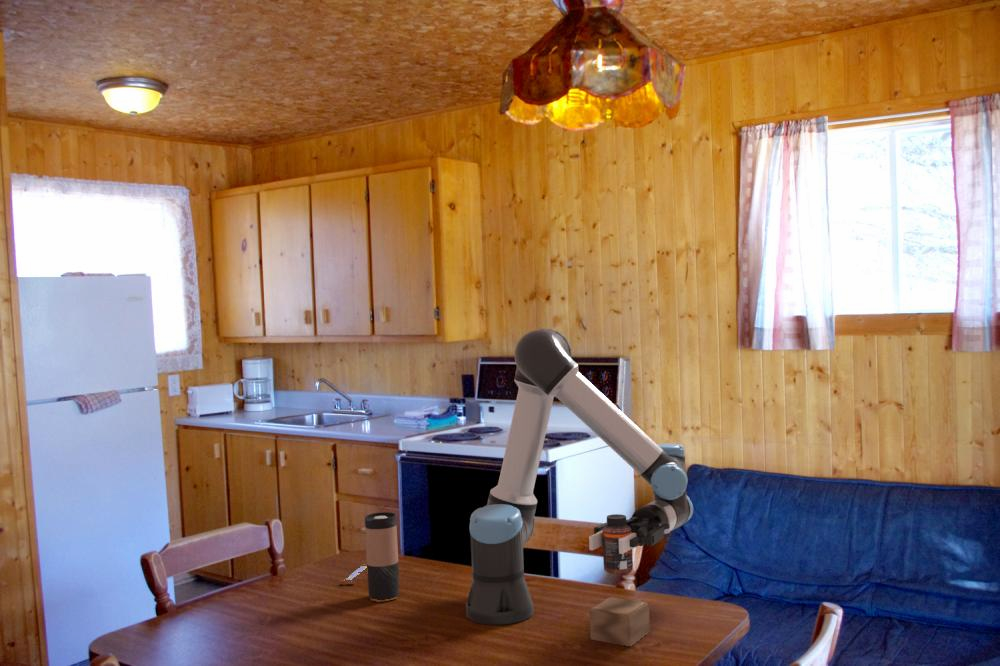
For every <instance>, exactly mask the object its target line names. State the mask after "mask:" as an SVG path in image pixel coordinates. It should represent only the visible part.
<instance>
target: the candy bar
mask: <svg viewBox="0 0 1000 666" xmlns="http://www.w3.org/2000/svg"><path fill="white" fill-rule="evenodd" d="M366 568H367V566H362V565H360V568H359V567H358V568H357V569H356V570H354V571H353V572H352V573H351V574H350V575H348V576H349V577H348V576H347V577H348V578H347V577H346V578H345V579H346V580H352V579H353V578H354V577H356V576H357V575H359V574H360V573H358V572H362V571H363V570H365V569H366ZM345 579H340V581H345ZM351 582H352V581H351Z"/></svg>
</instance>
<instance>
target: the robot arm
mask: <svg viewBox="0 0 1000 666" xmlns="http://www.w3.org/2000/svg"><path fill="white" fill-rule="evenodd" d="M514 361H515V362H514V363H515V365H516V370H515V375H514V379H513V380H514V383H515V384H516V386H517V387H518V390H517V395H516V400H515V405H514V409H513V413H512V418H511V423H510V426H509V427H510V428H509V432H508V436H507V442H506V445H505V446H506V447H505V450H504V455H503V458H502V459H503V460H502V465H501V469H500V475H499V479H498V482H497V485H496V486H495V487H493V488H491V489H490V492H489V495H488V499H487V504H486V505H484V506H483V507H479V508H476V509H475V510H474V511H473V512H472V513H471V515H470V518H469V521H470V522H469V527H468V528H469V534H470V555H471V556H470V557H471V571H472V574H471V575H472V581H471V585H470V589H469V593H468V596H467V600H466V605H465V611H466V612H465V613H466V615H465V616H466V618H467V619H469V621H472V622H474V623H477V624H481V625H489V626H490V625H494V626H496V625H497V626H498V625H509V624H515V623H519V622H523V621H525V620H527V619H529V618H531V617H533V615H534V612H535V610H534V601H533V599H532V596H531V594H530V590H529V587H528V585H527V582H526V579H525V570H524V569H525V568H524V567H525V566H524V547H525V545H526V543H527V542H528V541H529V540H530V538H531V536H532V535H533V532H534V529H535V514H536V510H537V505H538V499H537V498H536V496H535V494H534V489H535V484H536V480H537V475H538V471H539V467H540V461H541V458H542V457H541V456H542V453H543V448H544V444H545V438H546V434H547V430H548V425H549V421H550V416H551V411H552V405H553V402H554V398H556V399H558V400H559V401H560V403H562V404H563V405H564V406H565V407H566V408H567V409H568V410H569V411H571V412H572V414H574V415H575V416H576V417H577V419H579V420H580V421H581V422H583V424H585V425H586V426H587V427H588V428H589V429H590V430H591V431H592V432H593V434H595V435H597V437H599V438H600V439H601V440H602V441H603V442H604V443H605V444H606V445H607V446H608V447H609V448H610V449H612V451H614V452H615V453H616V454H617V455H618V456H619V457H620V458H622V460H624V461H625V462H626V463H627V464H628V466H630V467H631V468H632V469H633V470H634V471H635V472H636V473H637V474H639V476H640V477H641V478H642V479H643V480H645V481H646V482H647V484H649V486H651V489H652V490H653V491H652V492H653V493H652V494H653V501H651V502H649V503H648V504H645V505H642V506H641V507H639V508H637V509H635V511H634V512H633V514H632V516H631V517H630V518H629V519H626V521H627V522H626V524H627V526H629V527H630V528H631V532H632V533H631V534H629V535H627V536H626V537H624V538H622V539H620V540H619V554H624V553H625V552H627V551H629V550H631V549H632V550H633V549H634V548H637V547H638V546H639V547H643V546H644V545H646V546H647V547H653V546H654V545H656V544H658V543H659V542H660V541H662V540H664V539H666V538H668V537H671V531H674V530H676V529H678V528H680V527H682V526H684V525H685V524H686V523H687V522H689V520H690V519H691V518H692V517H693V514H694V505H693V502H692V500H691V499H690V497H689V496H688V495H687V487H688V486H687V485H688V483H689V480H688V479H689V478H688V473H687V471H686V456H685V448H684V446H683V445H682V444H679V443H670V442H667V443H656V442H655V441H654V440H653V439H652V438H651V437H650V436H648V435H647V433H645V432H644V431H643V430H642V429H641V428H640V427H639V426H638V424H636V423H635V422H634V421H633V420H631V418H629V417H628V415H626V414H625V413H624V412H623V411H622V410H621V409H619V407H617V406H616V405H615V403H613V402H612V401H611V400H610V399H609V398H608V397H606V395H604V393H602V392H601V391H600V390H599V389H598V388H597V387H596V386H595V385H594V384H592V382H591V381H590V380H588V378H586V377H585V376H584V375H582V374H583V373H581V372H580V371H579V364H578V363H577V362H576V361H575V360H574V359H573V358H572V349H571V344H570V343H569V342H568V339H567V338H566V337H565V336H564V334H561V332H559V331H557V330H553V329H551V328H549V329H548V328H539V329H535V330H531V331H528V332H527V333H526V334H524V335H523V336H522V337H521V338H520V339H519V340H518V342H516V346H515V348H514ZM607 524H608V523H607V522H604V523H602V524H600V525H597V526H595V527H593V534H592V535H589V536H588V543H589V544H588V545H589V547H588V548H589V551H594V550H596V549H598V548H600V547H603V528H604V527H605V526H606V525H607Z"/></svg>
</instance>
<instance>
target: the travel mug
mask: <svg viewBox="0 0 1000 666" xmlns="http://www.w3.org/2000/svg"><path fill="white" fill-rule="evenodd" d="M364 529H365V555H366V556H365V558H366V559H365V560H366V564H367V575H366V576H367V585H368V597H370V598H372V599H377V600H385V599H391V598H394V597H397V596H398V595H400V584H399V583H400V580H399V579H400V577H399V576H400V575H399V574H400V572H399V569H400V568H399V549H398V548H399V546H398V531H397V530H398V527H397V514H396V513H394V512H386V511H385V512H384V511H382V512H373V513H369V514H366V515H365V516H364Z"/></svg>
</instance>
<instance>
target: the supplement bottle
mask: <svg viewBox="0 0 1000 666" xmlns="http://www.w3.org/2000/svg"><path fill="white" fill-rule="evenodd" d="M626 520H627V516H626V515H625V514H619V513H617V514H609V515H606V523H608V524H607V525H606V526H605V527H604V528H603V545H602V556H603V557H602V558H603V570H604V571H605V572H606V573H608V574H611V575H625V574H629V573H631V572H632V571H633V568H634V567H633V566H634V562H633V549H631V550H629V551H627V552H625V553H624V554H619V540H620V539H622V538H624V537H626V536H627V535H629V534H631V533H632V532H631V528H630V527H629V526H627V524H626V522H627V521H626Z"/></svg>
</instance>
